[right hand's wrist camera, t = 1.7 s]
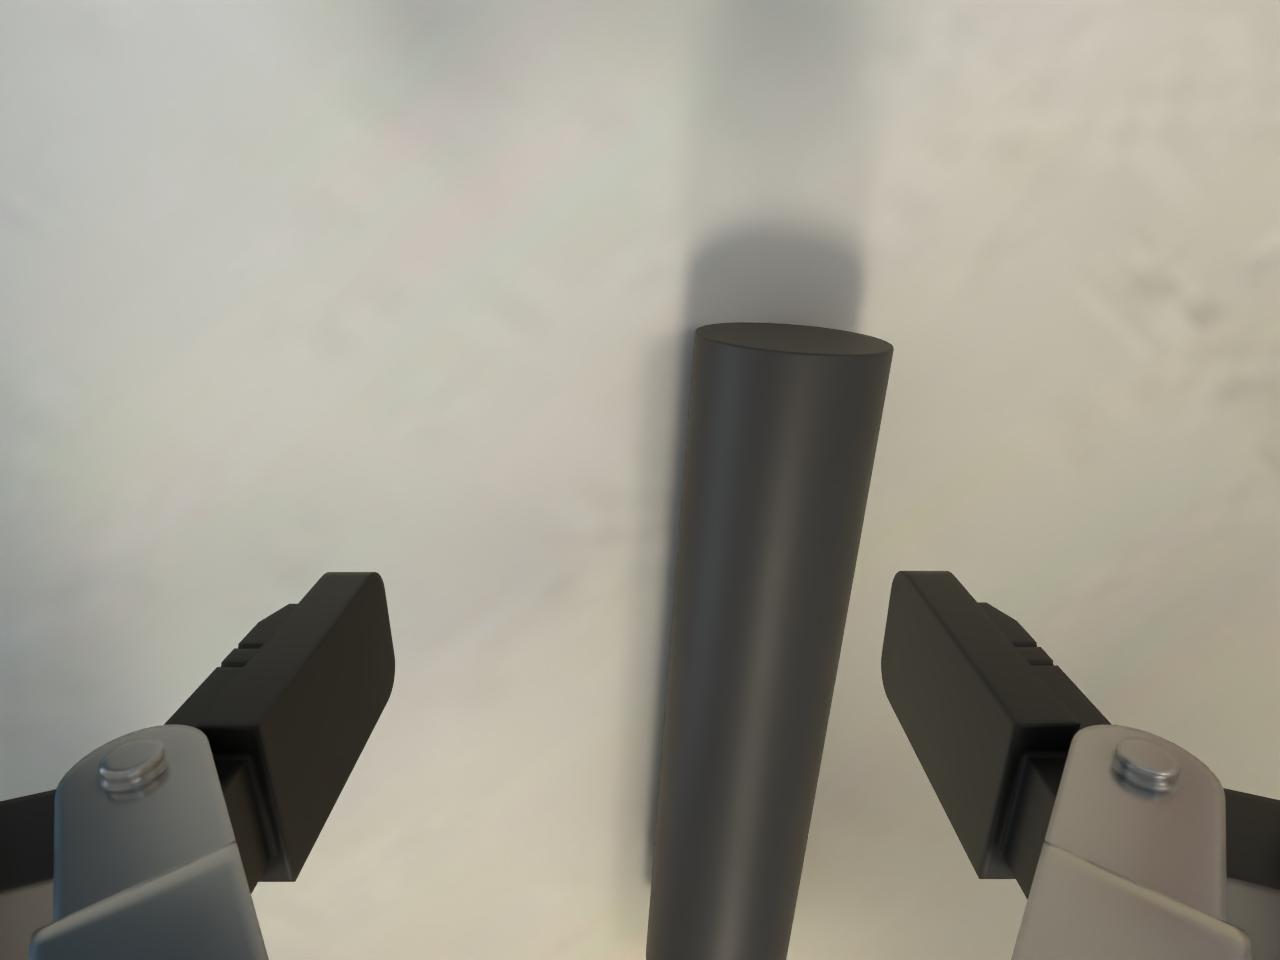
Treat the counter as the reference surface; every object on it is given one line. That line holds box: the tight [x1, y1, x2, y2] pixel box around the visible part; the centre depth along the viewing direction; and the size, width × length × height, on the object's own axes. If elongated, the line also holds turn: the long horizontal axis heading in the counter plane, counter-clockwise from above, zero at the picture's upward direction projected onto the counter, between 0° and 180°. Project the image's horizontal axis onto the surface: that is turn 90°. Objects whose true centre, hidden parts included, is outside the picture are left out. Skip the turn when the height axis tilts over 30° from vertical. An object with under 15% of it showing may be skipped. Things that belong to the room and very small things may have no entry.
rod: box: [646, 323, 893, 960], centre depth 27 cm, size 28×6×6 cm, turn 177°
